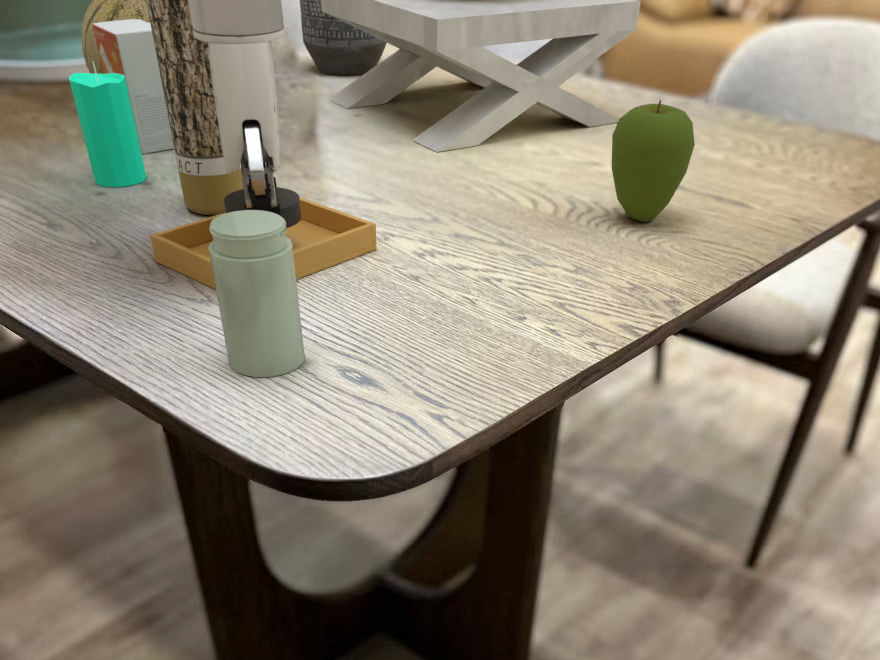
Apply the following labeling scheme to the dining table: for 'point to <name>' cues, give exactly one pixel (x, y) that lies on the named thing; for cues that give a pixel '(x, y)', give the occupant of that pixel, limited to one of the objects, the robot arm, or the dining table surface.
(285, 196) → the lid
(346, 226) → the tray
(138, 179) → the candle
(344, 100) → the x-leg display riser
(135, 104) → the small box
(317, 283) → the dining table surface
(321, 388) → the dining table surface
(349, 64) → the planter
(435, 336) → the dining table surface
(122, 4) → the cantaloupe
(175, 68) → the paper tube
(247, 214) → the jar
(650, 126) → the apple
